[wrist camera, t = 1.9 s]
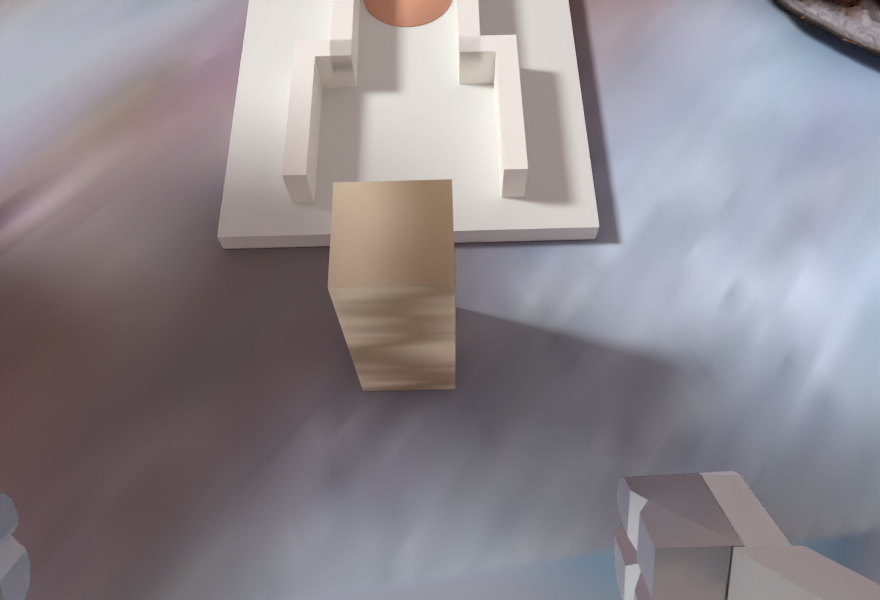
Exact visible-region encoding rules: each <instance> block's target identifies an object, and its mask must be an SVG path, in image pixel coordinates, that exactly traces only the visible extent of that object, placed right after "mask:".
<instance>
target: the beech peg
mask: <svg viewBox="0 0 880 600" xmlns="http://www.w3.org/2000/svg"><path fill="white" fill-rule="evenodd" d="M328 290H329V293H330V296H331V299H332V302H333V305H334V308H335V311H336V314H337V317H338V320H339V322H340V325H341V328H342V331H343V334H344V337H345V340H346V343H347V346H348V349H349V352H350V355H351V357H352V360H353V363H354V366H355V369H356V372H357V375H358V378H359V381H360V384H361V387H362V390H363V391H396V390H437V389H455V257H454V226H453V195H452V179H442V180H406V181H369V182H333V199H332V217H331V235H330V253H329V271H328Z"/></svg>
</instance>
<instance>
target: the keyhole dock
mask: <svg viewBox="0 0 880 600" xmlns="http://www.w3.org/2000/svg"><path fill="white" fill-rule="evenodd" d="M442 179H452V195H453V226H454V243H464V242H502V241H540V240H578V239H596V236H597V233H598V230H599V220H598V212H597V205H596V198H595V191H594V183H593V176H592V169H591V161H590V154H589V147H588V139H587V132H586V125H585V118H584V110H583V103H582V96H581V88H580V81H579V74H578V66H577V59H576V52H575V44H574V37H573V30H572V23H571V15H570V8H569V1H568V0H249V6H248V13H247V21H246V28H245V35H244V43H243V50H242V57H241V65H240V72H239V79H238V87H237V94H236V101H235V109H234V116H233V123H232V131H231V138H230V145H229V153H228V160H227V167H226V175H225V182H224V189H223V197H222V204H221V211H220V219H219V226H218V233H217V238H218V240H219V242H220V243H221V245H222V247H223V249H235V248H274V247H312V246H330V235H331V217H332V199H333V182H369V181H406V180H442Z"/></svg>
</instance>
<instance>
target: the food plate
mask: <svg viewBox="0 0 880 600" xmlns="http://www.w3.org/2000/svg"><path fill="white" fill-rule="evenodd" d="M774 2H776V3H777V5H779V7H780V9H781V8H783V9H784V10H785V11H788V12H789V13H790V14H794V15H795V16H797V17H799V18H802V19H805V20H806V21H809V23H810V24H812V25H814V26H816V27H819V28H820V29H822V30H824V31H826V32H828V33H829V34H832V35H835V36H836V37H837V36H838V38H840V39H842V40H844V41H846V42H849V43H852V44H854V45H857V46H859V47H860V48H862V49H864V50H866V51H867V52H868V53H870V54H872V55H873V57H874V56H875V57H880V0H774Z"/></svg>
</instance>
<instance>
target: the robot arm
mask: <svg viewBox="0 0 880 600" xmlns="http://www.w3.org/2000/svg"><path fill="white" fill-rule="evenodd" d="M616 507H617V509H618V512H619V515H620V517H621V520H622V523H623V525H622V526H621V527H620V528H619V529H618V530H617V532H616V533H615V535H614V561H615V573H616V581H617V585H618V590H619V594H620V597H621V600H880V585H879V584H877V583H875V582H873V581H872V580H870V579H868V578H866V577H864V576H862V575H860V574H858V573H856V572H854V571H852V570H850V569H848V568H846V567H845V566H843V565H841V564H839V563H837V562H835V561H833V560H831V559H829V558H827V557H825V556H823V555H821V554H819V553H817V552H815V551H813V550H811V549H810V548H808V547H806V546H804V545H800V546H791V544H790V543H789V541H788V540H787V539H786V537H785V536H784V535H783V533H782V532H781V530H780V529H779V528H778V526H777V525H776V524H775V522H774V521H773V519H772V518H771V517H770V515H769V514H768V513H767V511H766V510H765V509H764V507H763V506H762V504H761V503H760V502H759V500H758V499H757V498H756V496H755V495H754V493H753V492H752V491H751V489H750V488H749V487H748V485H747V484H746V482H745V481H744V480H743V478H742V477H741V476H740V474H738V473H736V472H734V471H721V472H706V473H692V474H673V475H655V476H636V477H619V481H618V486H617V495H616ZM18 523H19V518H18V515H17V512H16V508H15V505H14V502H13V500H12V499H11V498H9V497H8V496H6V495H4V494H3V493H0V600H25V598H26V595H27V592H28V589H29V586H30V561H29V557H28V553H27V549H26V548H25V547H23V546H22V545H21V544H20V543H19V542H18V541H17V540H16V539H15V538H14V537H13V536H12V534H13V532H14V530H15V528H16V527H17V525H18Z"/></svg>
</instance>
